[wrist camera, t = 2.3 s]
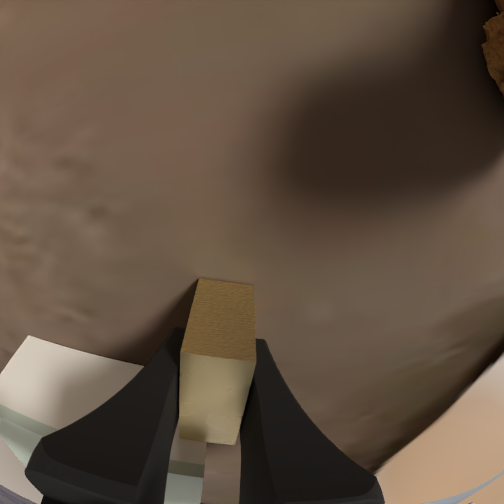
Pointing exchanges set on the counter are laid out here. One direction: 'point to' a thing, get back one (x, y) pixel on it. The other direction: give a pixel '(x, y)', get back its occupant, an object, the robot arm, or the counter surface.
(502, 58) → the stuffed squirrel
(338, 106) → the counter surface
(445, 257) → the counter surface
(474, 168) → the counter surface
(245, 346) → the tan rectangular block
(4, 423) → the box
